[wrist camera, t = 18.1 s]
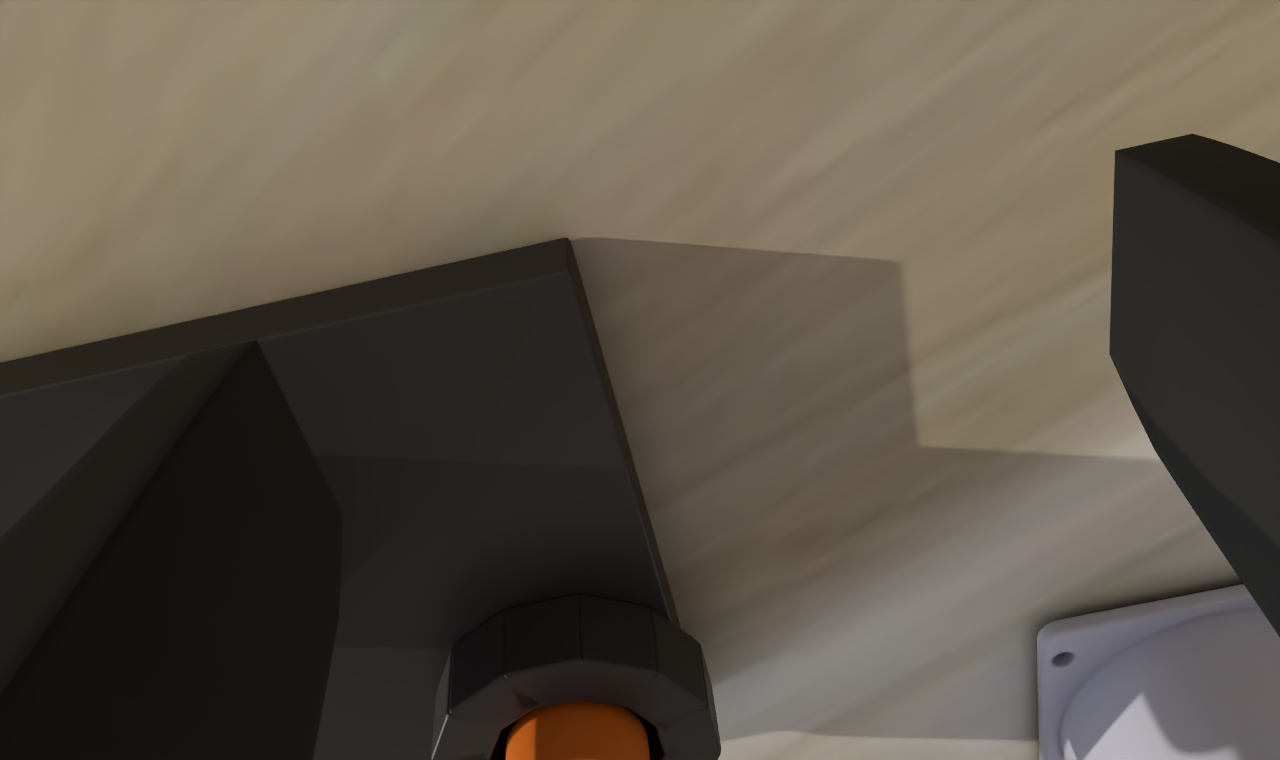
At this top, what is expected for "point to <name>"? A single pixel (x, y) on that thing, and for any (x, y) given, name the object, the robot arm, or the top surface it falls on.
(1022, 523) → the top surface
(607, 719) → the button
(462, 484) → the scale
